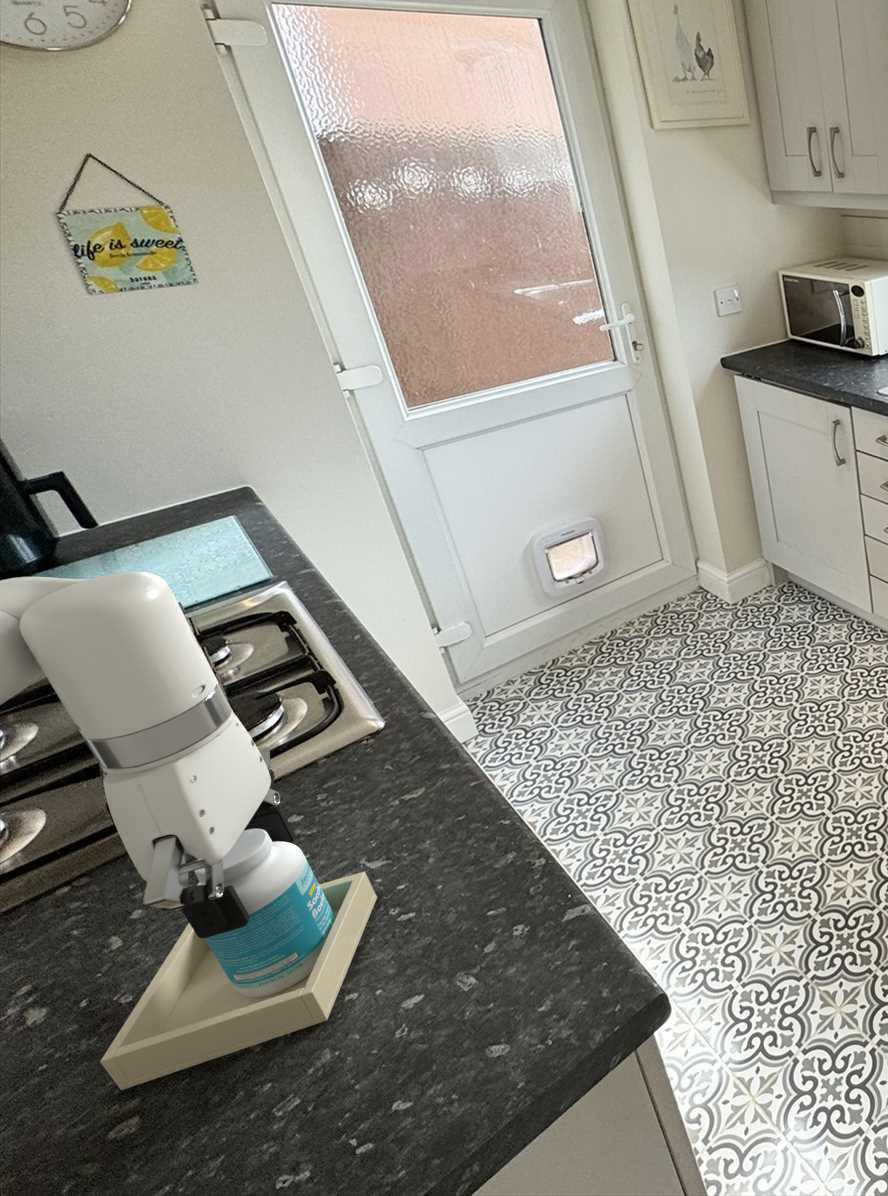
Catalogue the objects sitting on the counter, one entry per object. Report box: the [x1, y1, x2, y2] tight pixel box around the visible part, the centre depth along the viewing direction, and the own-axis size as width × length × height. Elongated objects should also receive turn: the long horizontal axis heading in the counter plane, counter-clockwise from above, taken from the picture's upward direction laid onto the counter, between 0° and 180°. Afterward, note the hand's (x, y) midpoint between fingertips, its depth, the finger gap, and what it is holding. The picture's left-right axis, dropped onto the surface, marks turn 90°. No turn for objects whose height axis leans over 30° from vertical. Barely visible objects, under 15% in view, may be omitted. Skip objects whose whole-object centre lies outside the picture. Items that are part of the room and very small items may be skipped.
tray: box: [100, 871, 378, 1091], centre depth 69 cm, size 14×13×4 cm
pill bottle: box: [193, 829, 336, 997], centre depth 68 cm, size 8×7×14 cm
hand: (251, 885), depth 67 cm, fingers open, 8 cm apart
